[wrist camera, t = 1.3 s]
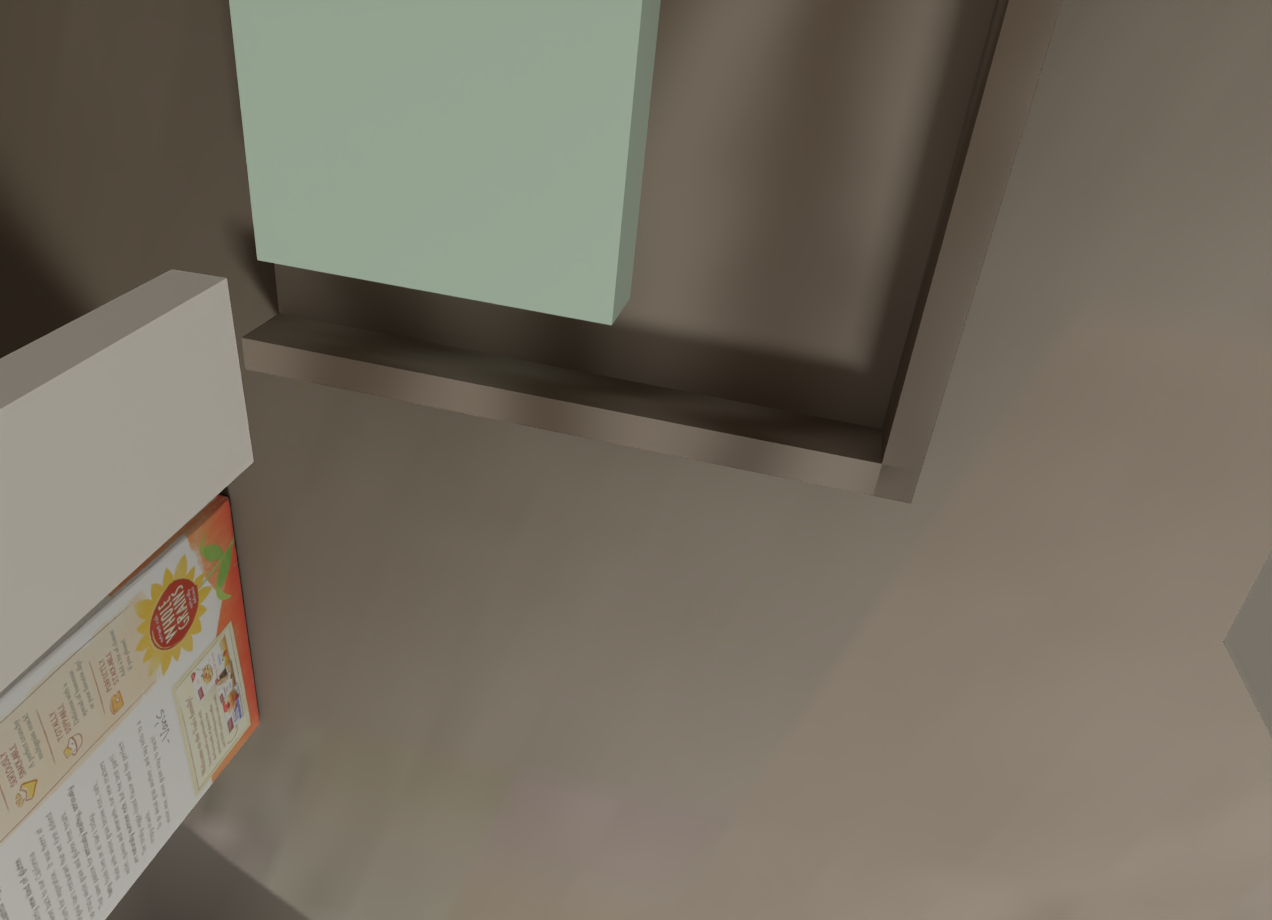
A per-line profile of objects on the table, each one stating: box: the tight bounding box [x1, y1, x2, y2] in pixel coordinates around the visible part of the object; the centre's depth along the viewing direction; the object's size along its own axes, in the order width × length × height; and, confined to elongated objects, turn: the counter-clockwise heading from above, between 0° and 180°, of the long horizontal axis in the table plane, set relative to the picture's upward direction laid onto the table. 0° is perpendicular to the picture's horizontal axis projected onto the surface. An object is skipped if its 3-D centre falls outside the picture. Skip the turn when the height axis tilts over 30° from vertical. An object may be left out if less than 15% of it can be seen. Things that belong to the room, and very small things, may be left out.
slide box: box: [242, 0, 1062, 504], centre depth 28 cm, size 23×20×3 cm
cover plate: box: [229, 0, 661, 325], centre depth 28 cm, size 12×12×2 cm
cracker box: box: [0, 495, 260, 920], centre depth 35 cm, size 14×6×21 cm, turn 173°
